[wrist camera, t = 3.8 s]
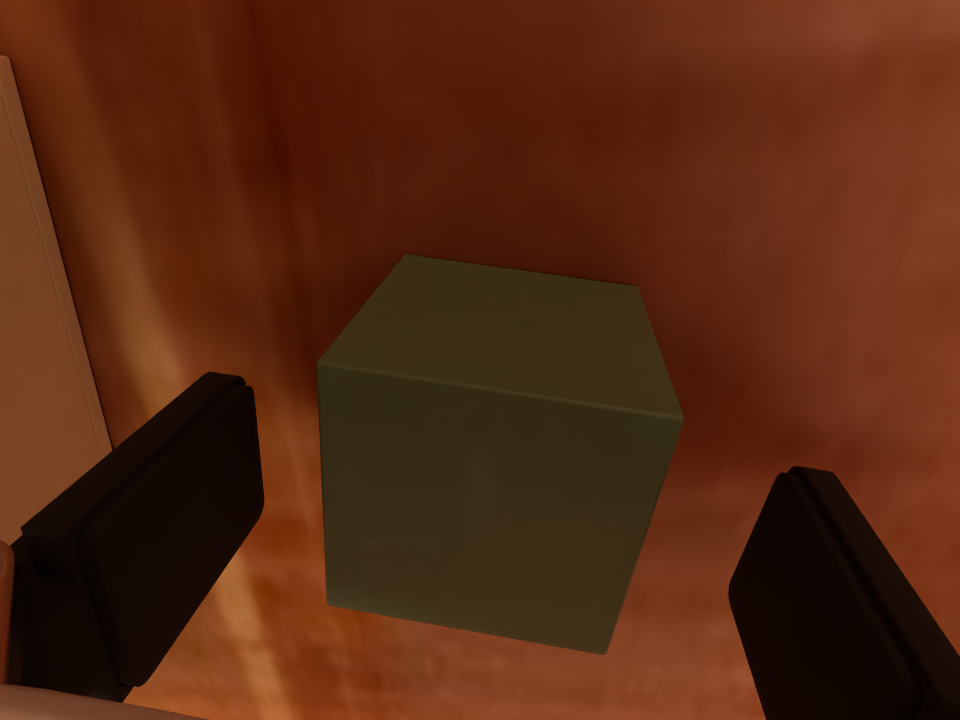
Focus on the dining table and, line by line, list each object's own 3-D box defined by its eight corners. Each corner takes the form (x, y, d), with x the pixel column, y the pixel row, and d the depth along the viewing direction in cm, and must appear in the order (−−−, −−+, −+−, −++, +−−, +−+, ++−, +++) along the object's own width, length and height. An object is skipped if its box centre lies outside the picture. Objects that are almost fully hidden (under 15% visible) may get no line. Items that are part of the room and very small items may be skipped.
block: (404, 253, 12) (314, 361, 8) (638, 285, 12) (686, 418, 7) (396, 441, 14) (325, 607, 10) (592, 472, 14) (606, 657, 10)
